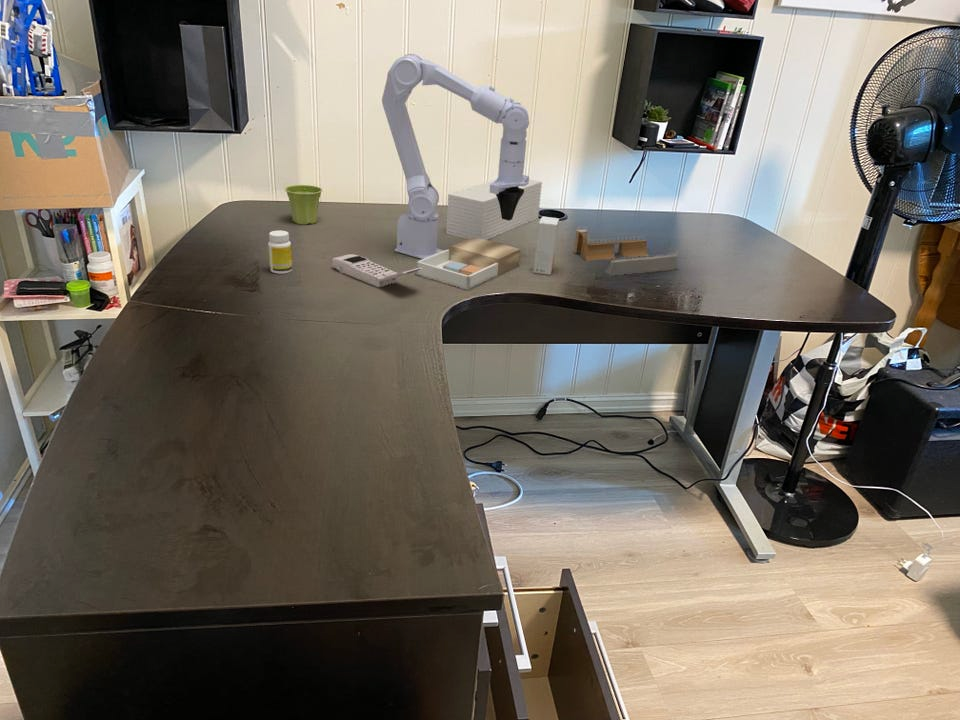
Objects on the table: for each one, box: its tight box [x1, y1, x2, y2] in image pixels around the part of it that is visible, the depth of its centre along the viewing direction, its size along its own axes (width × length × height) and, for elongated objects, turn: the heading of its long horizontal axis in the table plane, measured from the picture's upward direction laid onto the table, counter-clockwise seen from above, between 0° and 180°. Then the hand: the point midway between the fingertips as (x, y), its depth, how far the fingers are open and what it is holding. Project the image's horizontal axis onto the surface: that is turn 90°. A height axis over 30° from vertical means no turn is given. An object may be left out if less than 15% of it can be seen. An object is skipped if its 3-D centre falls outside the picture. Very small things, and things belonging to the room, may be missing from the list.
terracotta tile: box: [460, 265, 484, 276], centre depth 156 cm, size 4×4×2 cm
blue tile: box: [443, 261, 468, 273], centre depth 157 cm, size 4×4×2 cm
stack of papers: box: [445, 178, 543, 240], centre depth 194 cm, size 32×11×11 cm, turn 148°
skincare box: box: [532, 215, 560, 276], centre depth 163 cm, size 6×4×12 cm
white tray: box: [415, 249, 498, 291], centre depth 158 cm, size 14×12×3 cm
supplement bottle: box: [267, 229, 293, 275], centre depth 152 cm, size 5×5×8 cm
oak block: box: [449, 237, 522, 277], centre depth 166 cm, size 13×10×4 cm
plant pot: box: [284, 184, 323, 225], centre depth 185 cm, size 9×9×9 cm
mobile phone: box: [331, 253, 422, 288], centre depth 152 cm, size 6×6×25 cm
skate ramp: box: [573, 225, 679, 277], centre depth 178 cm, size 29×35×8 cm
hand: (506, 219), depth 166 cm, fingers closed
